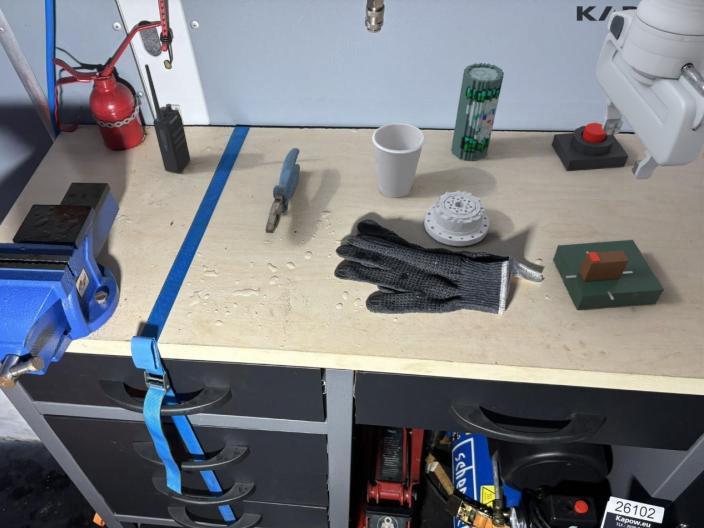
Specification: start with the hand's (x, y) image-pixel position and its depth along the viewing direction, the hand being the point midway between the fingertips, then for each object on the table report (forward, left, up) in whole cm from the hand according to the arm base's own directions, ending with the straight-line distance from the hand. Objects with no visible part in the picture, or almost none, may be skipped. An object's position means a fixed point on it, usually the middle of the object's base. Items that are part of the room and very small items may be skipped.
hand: (624, 152), depth 75 cm
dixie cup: (+24, -21, -19) cm, 37 cm away
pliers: (+43, -18, -19) cm, 51 cm away
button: (-11, -26, -15) cm, 32 cm away
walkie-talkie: (+62, -32, -19) cm, 72 cm away
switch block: (-11, -26, -19) cm, 34 cm away
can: (+9, -30, -19) cm, 37 cm away
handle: (0, +6, -16) cm, 17 cm away
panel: (-2, +4, -19) cm, 19 cm away
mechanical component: (+16, -10, -19) cm, 27 cm away
